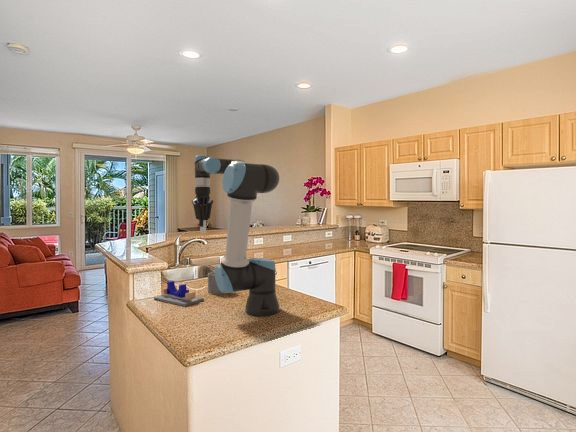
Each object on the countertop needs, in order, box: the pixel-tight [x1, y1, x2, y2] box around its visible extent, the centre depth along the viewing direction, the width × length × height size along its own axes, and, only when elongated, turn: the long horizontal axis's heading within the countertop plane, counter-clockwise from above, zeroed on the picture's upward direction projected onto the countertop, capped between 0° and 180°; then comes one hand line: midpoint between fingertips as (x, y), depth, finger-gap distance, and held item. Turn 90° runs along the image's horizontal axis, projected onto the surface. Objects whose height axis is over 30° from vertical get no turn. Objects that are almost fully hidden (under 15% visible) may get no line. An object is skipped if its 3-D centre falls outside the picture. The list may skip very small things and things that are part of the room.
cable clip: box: [166, 280, 190, 298], centre depth 174 cm, size 12×4×6 cm, turn 50°
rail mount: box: [153, 287, 205, 308], centre depth 173 cm, size 22×12×5 cm, turn 58°
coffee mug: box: [207, 271, 224, 295], centre depth 191 cm, size 13×10×10 cm
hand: (203, 232), depth 180 cm, fingers closed
